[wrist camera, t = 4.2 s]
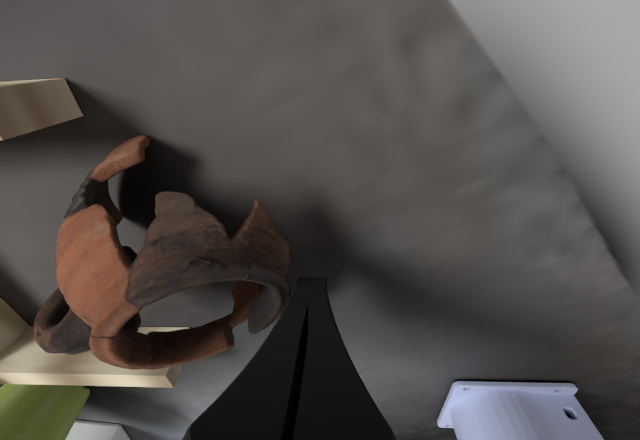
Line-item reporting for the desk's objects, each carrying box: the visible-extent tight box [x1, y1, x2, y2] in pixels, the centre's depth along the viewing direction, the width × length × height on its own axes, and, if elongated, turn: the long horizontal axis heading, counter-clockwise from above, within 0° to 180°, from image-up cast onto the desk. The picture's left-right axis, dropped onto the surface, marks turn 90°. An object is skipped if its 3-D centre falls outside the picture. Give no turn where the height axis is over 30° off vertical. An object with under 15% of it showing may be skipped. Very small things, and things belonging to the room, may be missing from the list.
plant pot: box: [0, 384, 90, 440], centre depth 22 cm, size 9×9×9 cm
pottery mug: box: [34, 135, 291, 370], centre depth 13 cm, size 12×10×8 cm
